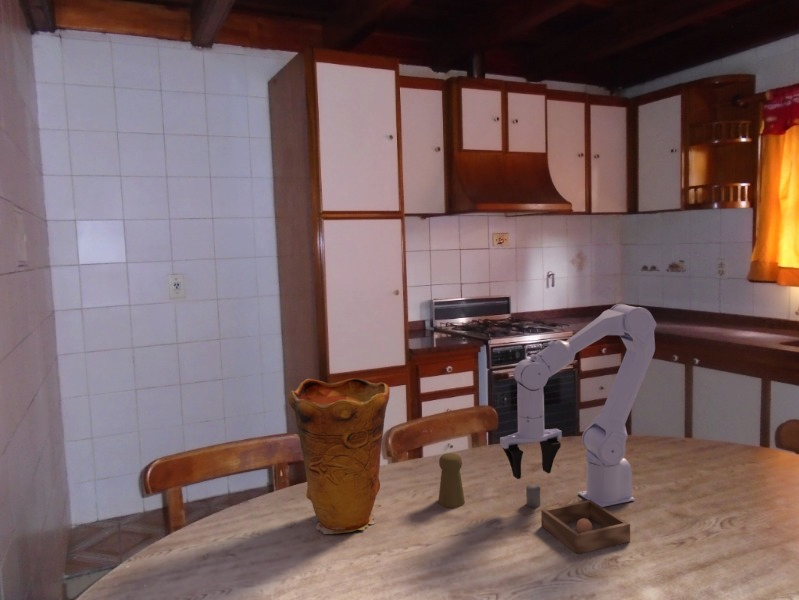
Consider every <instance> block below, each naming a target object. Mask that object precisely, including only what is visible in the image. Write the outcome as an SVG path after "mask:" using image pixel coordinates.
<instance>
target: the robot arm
mask: <svg viewBox="0 0 799 600" xmlns="http://www.w3.org/2000/svg"><path fill="white" fill-rule="evenodd" d="M656 328H657V322H656V320H655V318H654V316H653V315H652V313H651V312H650V311H649V310H648V309H647V308H645V307H640V306H639V307H637V306H631V305H627V304H625V303H617V304H614V305H613V306H612V307H611V308H610V309H606V310H604V311H603V312H602V313H601V314H600V315H599V316H597V317H596V318H595V319H594V320H592V321H591V322H589V323H588V324H587V325H585V326H584V327H583V328H581V329H580V330H579V331H577V332H576V333H575V334H572V336H571V337H569V338H568V339H567V340H561V339H557V340H555V341H554V340H550V341H549V342H548V343H547V346H546V347H545V348H543V349H542V350H540V351H538V352H537V353H536V354H535V353H532V354H530V355H529V358H530V359H528V358H527V359H522V360H520V361H518V362H517V364H516V365H515V368H514V371H513V372H512V376H513V378H514V380H515V382H516V384H517V385H516V387H517V394H516V397H517V399H516V400H517V403H516V404H517V405H516V406H517V431H516V432H515V433H512V434H509V435H505V436H502V437H501V436H500V437H499V443H500V444H499V446H500V447H501V448H502V450H503V451H504V453H505V455H506V457H507V459H508V462H509V464H510V468H511V471H512V476H513V477H514V478H516V479H517V480H520V479H522V459H523V455H524V451H523V450H521V449H520V447H519V446H523V445H528V444H534V443H539V445H540V449H541V465H542V471H543V472H544V473H546V474H551V472H552V468H553V463H554V460H555V458H556V456H557V454H558V452H559V450H560V448H561V446H562V442H561V440H562V439H563V433H562V432H563V431H562V430H560V429H558V428H550V429H549V428H548V429H545V394H544V387H545V386H546V384H547V382H548V380H549V378H551V377H552V376H554V375H555V374H557V373H558V372H560V371H561V370H563V369H564V368H566V367H567V366H569V365H570V364H572V363H573V362H574V360H575V357H576V354H577V353H578V352H580V351H582V350H584V349H585V348H587V347H588V346H591V345H592V344H594V343H595V342H598V341H599V340H601V339H602V338H604V337H605V336H619V337H620V339H621V340H622V343H623V345H624V346H625V348H626V351H625V354H624V356H623V359H622V362H621V364H620V366H619V369H618V371H617V374H616V375H615V378H614V381H613V384H612V386H611V388H610V391H609V393H608V395H607V397H606V401H605V403H604V405H603V408H602V410H601V412H600V413H599V414H598V415H597V416H595V417H593V419H592V420H591V423H590V424H589V425H588V426H587V428H585V430H584V431H583V432H582V435H581V442H582V446H583V447H584V448H585V449H586V462H585V463H586V466H585V467H586V473H585V474H586V476H585V477H586V480H585V481H586V483H585V484H586V487H585V488H586V490H582V491H578V492H577V495H579V496H581V497H582V498H584V499H585V500H586V501H587V500H592V501H593V502H595V503H596V504H598V505H600V506H601V507H603V508H604V507H609V506H614V505H618V504H623V503H629V502H633V501H635V497H633V470H632V466H631V464H630V462H629V461H628V459H626V458H625V456H626V443H627V439H628V432H627V427H626V423H627V420H628V417H629V415H630V412H631V410H632V409H633V406H634V403H635V401H636V399H637V397H638V396H637V395H638V393H639V391H640V388H641V386H642V384H643V381H644V379H645V376H646V374H647V371H648V368H649V366H650V364H651V362H652V359H653V356H654V354H655V351H656V342H655V330H656ZM559 440H560V441H559Z"/></svg>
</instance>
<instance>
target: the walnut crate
mask: <svg viewBox="0 0 799 600" xmlns="http://www.w3.org/2000/svg"><path fill="white" fill-rule="evenodd" d="M540 514H541V519H540V520H541V528H543V529H545V530H546V531H547V532H549V534H551V535H552V536H553V537H555V538H556V539H557V540H558V541H560V542H561V543H563V544H564V545H565V546H567V547H568V548H569V549H570V550H572V551H573V552H574V553H575V554H577V555H579V554H580V555H581V554H584V553H588V552H592V551H596V550H600V549H605V548H609V547H613V546H617V545H621V544H626V543H630V542H631V523H629V522H627V521H626V520H624V519H623V518H622V517H620V516H618V515H616V514H614V513H613V512H611V511H609V510H607V509H606V508H604V507H601V506H600V505H598V504H596V503H595V502H593V501H592V500H587V499H586V500H583V501H578V502H573V503H568V504H563V505H559V506H553V507H549V508H543V509H541V512H540ZM583 518H584V519H587V520H588V519H590V520H592V521H593V522H595V523H597V524H598V525H600V526H601V528H597V529H592V530H591V531H587V532H582V533H580V532H577V531H576V530H574V529H573V528H572V527H570V526H569V525H568V523H573V522H578V521H579V520H580V519H583Z"/></svg>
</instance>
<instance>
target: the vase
mask: <svg viewBox="0 0 799 600" xmlns="http://www.w3.org/2000/svg"><path fill="white" fill-rule="evenodd" d="M390 389H391V388H390V386H389V385H388V384H386V383H385V382H378V383H375V382H374V383H373V382H370V381H368V380H367V379H364V378H363V379H362V378H354V377H353V378H352V377H351V378H348V379H345V380H341V381H338V382H334V383H331V382H325V381H322V380H317V379H314V378H307V379H305V380H303V381H301V382H300V384H299V385H298V387H297V388H296V389H295V390H293V389H291V390H290V391H289V394H288V402H289V405H290V407H291V408H292V410H293V411H294V418H295V423H296V427H297V428H296V429H297V434H298V438H299V441H300V447H301V448H300V449H301V450H302V458H303V459H302V460H303V464H304V470H305V475H306V483H307V489H306V498H307V499H308V500H310V502H311V504H312V508H313V511H314V514H315V516H316V519H315V521H317V522H318V523H316V527H315V529H316V530H317V531H320V533H321V532H322V534H323V535H328V534H329V535H333V534H341V533H343V534H344V533H352V532H355V531H357V530H358V531H364V530H365V529H366V528H369V525H374V524H376V522H375V521H374V518H375V517H376V516H375V515H373V514H372V511H373V508H374V505H375V500H376V498H377V495H378V493H379V491H380V489H381V481H380V477H379V475H380V467H381V465H380V464H381V454H382V444H383V443H382V442H383V436H384V430H385V429H384V427H385V419H386V410H387V407H388V404H389V399H390V393H391V392H390V391H391V390H390Z"/></svg>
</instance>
